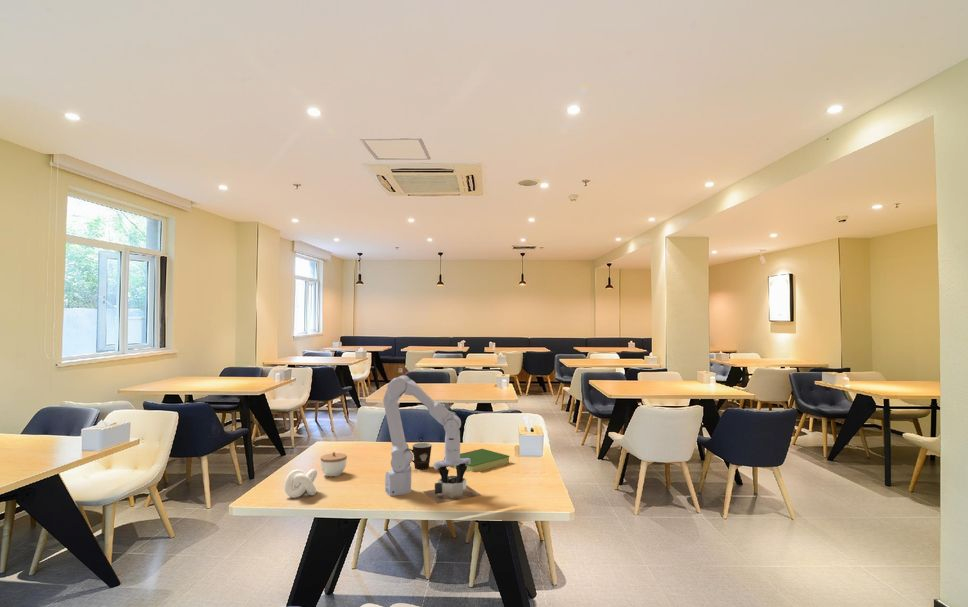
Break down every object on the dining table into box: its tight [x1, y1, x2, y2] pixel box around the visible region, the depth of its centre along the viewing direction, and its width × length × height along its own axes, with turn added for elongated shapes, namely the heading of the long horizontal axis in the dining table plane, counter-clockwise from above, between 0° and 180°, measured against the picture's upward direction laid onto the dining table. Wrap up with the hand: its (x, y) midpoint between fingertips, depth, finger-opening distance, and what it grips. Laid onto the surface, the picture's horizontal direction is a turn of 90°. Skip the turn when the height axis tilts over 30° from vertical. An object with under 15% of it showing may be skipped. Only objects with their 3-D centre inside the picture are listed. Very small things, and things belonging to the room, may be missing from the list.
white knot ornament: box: [283, 468, 318, 499], centre depth 177 cm, size 11×12×9 cm
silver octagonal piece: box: [434, 474, 467, 498], centre depth 177 cm, size 12×10×5 cm
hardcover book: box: [443, 448, 510, 473], centre depth 220 cm, size 25×19×4 cm
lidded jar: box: [320, 451, 348, 478], centre depth 203 cm, size 11×11×9 cm
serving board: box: [422, 484, 482, 504], centre depth 178 cm, size 18×14×1 cm
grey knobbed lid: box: [448, 477, 456, 484], centre depth 178 cm, size 7×7×5 cm
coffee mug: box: [409, 442, 433, 471], centre depth 214 cm, size 12×9×10 cm
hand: (452, 485), depth 178 cm, fingers open, 5 cm apart
